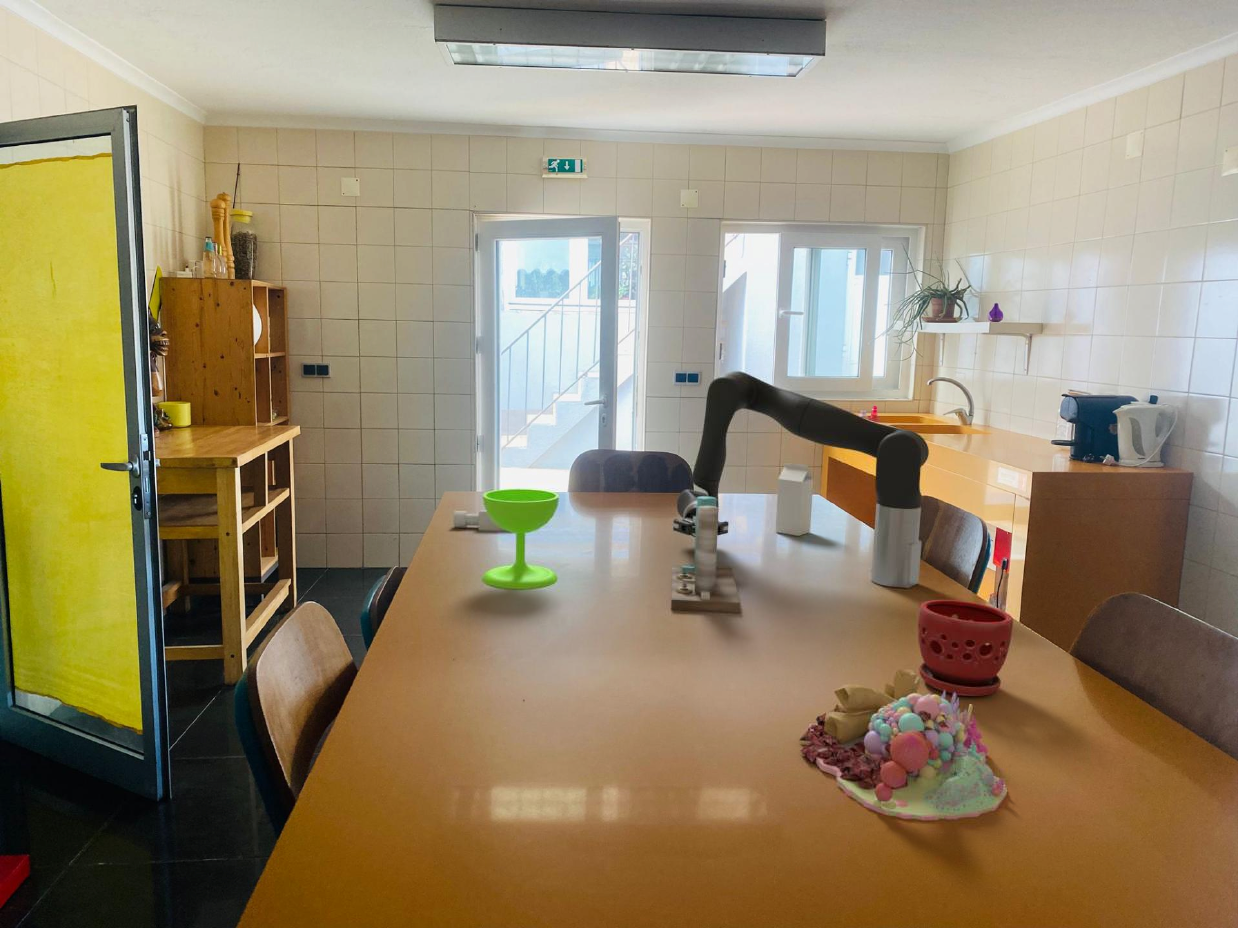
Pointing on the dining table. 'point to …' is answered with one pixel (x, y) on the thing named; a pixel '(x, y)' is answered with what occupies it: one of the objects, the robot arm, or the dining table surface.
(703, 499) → the teal lever handle
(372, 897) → the dining table surface
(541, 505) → the wineglass
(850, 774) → the pastel sphere sculpture
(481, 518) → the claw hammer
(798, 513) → the milk carton
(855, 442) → the robot arm
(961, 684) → the plant pot
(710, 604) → the gauge board
